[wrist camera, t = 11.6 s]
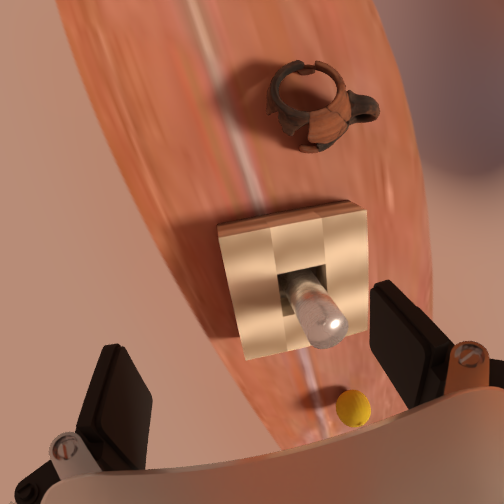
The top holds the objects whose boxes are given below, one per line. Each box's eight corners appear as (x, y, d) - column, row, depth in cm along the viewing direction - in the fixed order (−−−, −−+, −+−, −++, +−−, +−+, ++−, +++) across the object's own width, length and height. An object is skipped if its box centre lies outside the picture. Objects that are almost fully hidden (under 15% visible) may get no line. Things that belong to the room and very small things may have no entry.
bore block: (216, 224, 36) (218, 237, 32) (348, 200, 37) (366, 209, 33) (241, 337, 42) (245, 360, 38) (352, 310, 43) (367, 330, 39)
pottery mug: (275, 163, 35) (266, 133, 27) (268, 94, 36) (257, 55, 28) (379, 155, 33) (395, 123, 25) (363, 87, 34) (372, 47, 26)
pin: (276, 264, 38) (305, 319, 27) (308, 257, 38) (348, 307, 27) (280, 293, 40) (308, 353, 29) (311, 286, 40) (348, 342, 29)
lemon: (353, 375, 48) (371, 408, 41) (363, 391, 50) (381, 422, 43) (325, 392, 49) (340, 427, 42) (337, 407, 51) (351, 439, 44)
